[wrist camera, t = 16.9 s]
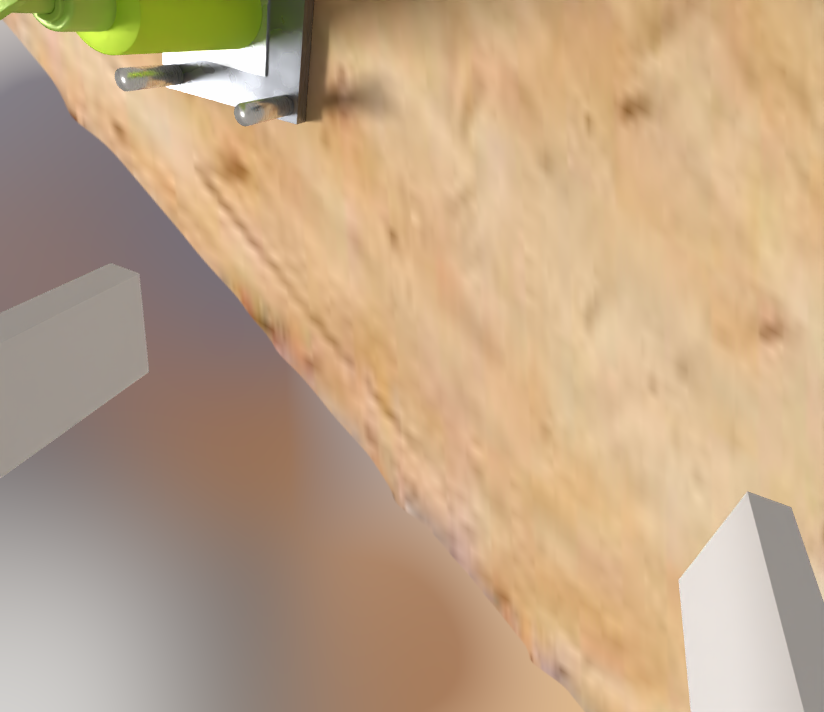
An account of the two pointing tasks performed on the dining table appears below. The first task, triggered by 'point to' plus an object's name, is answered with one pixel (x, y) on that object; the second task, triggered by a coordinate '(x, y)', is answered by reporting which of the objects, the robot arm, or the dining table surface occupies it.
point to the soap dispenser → (148, 23)
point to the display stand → (244, 68)
